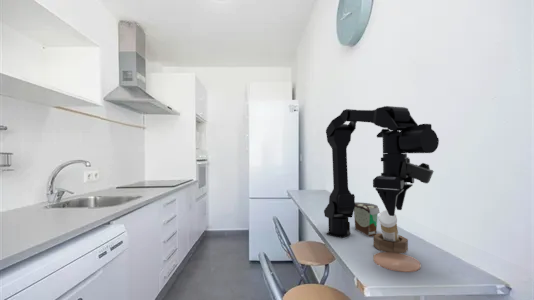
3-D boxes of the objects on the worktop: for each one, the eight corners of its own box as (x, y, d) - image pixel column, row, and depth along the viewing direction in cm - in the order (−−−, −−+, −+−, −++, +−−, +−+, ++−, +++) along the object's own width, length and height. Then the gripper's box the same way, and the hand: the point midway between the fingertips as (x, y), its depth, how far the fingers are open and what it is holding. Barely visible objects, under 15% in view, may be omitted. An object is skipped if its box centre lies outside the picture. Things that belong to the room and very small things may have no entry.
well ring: (370, 248, 78) (370, 238, 78) (379, 240, 85) (379, 231, 85) (403, 255, 72) (403, 244, 72) (409, 246, 79) (409, 236, 79)
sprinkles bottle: (402, 239, 78) (399, 214, 70) (394, 251, 77) (390, 226, 69) (388, 231, 82) (384, 207, 74) (380, 242, 80) (375, 218, 72)
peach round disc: (367, 264, 66) (367, 261, 66) (380, 251, 75) (380, 249, 75) (416, 277, 59) (416, 273, 60) (423, 261, 68) (423, 258, 68)
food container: (387, 237, 88) (387, 208, 89) (371, 238, 87) (370, 208, 88) (367, 227, 100) (367, 201, 101) (353, 228, 99) (352, 202, 100)
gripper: (424, 153, 56) (426, 225, 55) (434, 153, 70) (436, 210, 70) (371, 153, 63) (372, 217, 62) (390, 153, 77) (391, 205, 77)
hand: (395, 212), depth 68 cm, fingers open, 8 cm apart
